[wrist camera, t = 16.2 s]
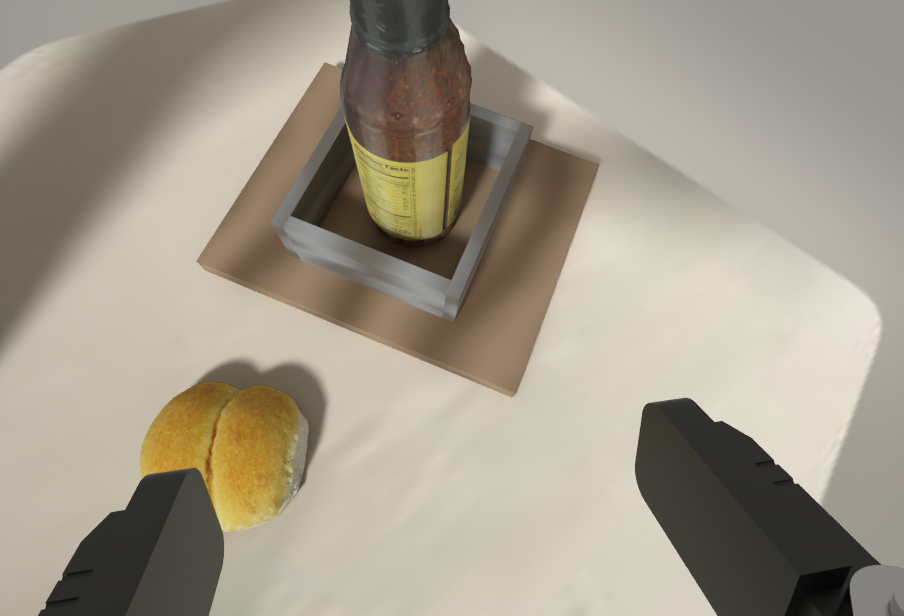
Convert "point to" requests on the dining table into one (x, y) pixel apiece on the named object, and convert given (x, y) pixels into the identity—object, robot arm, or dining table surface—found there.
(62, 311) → the dining table surface
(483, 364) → the bottle stand
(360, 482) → the dining table surface
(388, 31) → the sauce bottle
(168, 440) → the bread roll
